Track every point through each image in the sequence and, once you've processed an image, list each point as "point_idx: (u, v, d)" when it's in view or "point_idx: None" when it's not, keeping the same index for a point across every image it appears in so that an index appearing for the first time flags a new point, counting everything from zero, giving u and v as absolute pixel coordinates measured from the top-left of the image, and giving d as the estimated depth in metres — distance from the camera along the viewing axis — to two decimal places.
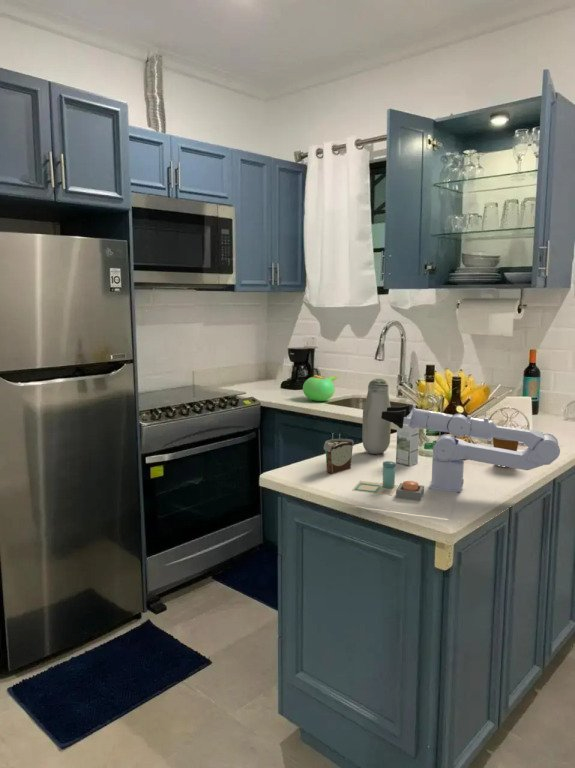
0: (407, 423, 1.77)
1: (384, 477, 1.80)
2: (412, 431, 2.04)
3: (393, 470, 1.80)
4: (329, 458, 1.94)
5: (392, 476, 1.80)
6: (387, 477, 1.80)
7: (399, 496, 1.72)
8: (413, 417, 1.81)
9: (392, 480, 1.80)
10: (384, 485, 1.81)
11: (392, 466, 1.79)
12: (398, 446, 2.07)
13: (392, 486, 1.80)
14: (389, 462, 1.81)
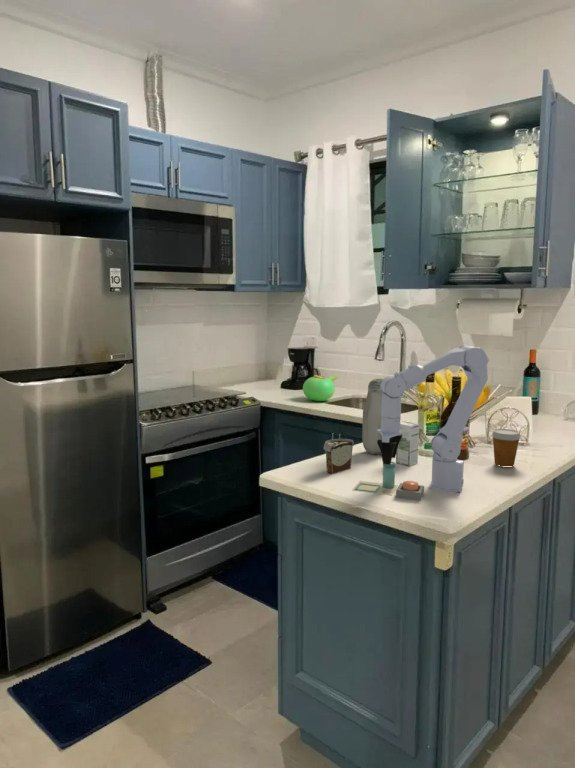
0: (387, 438, 1.73)
1: (384, 477, 1.80)
2: (412, 431, 2.04)
3: (393, 470, 1.80)
4: (329, 458, 1.94)
5: (392, 476, 1.80)
6: (387, 477, 1.80)
7: (399, 496, 1.72)
8: (386, 431, 1.77)
9: (392, 480, 1.80)
10: (384, 485, 1.81)
11: (392, 466, 1.79)
12: (398, 446, 2.07)
13: (392, 486, 1.80)
14: None
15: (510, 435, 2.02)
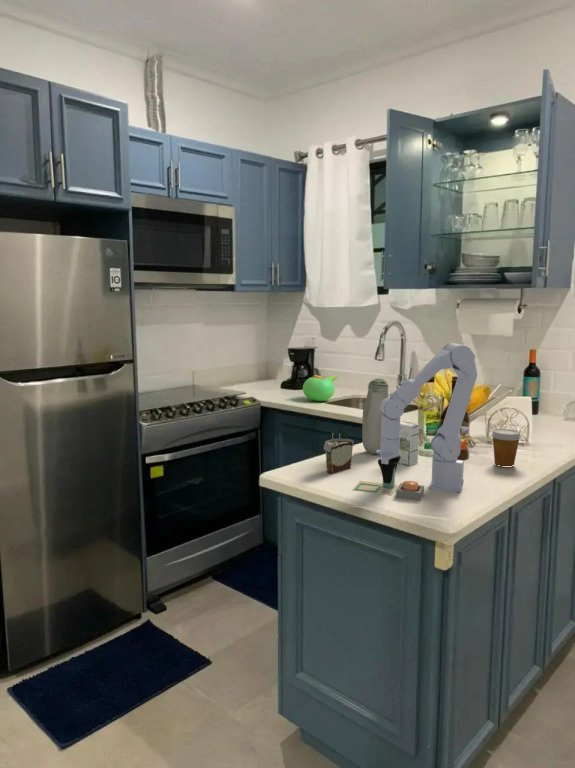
0: (386, 459, 1.73)
1: None
2: (412, 431, 2.04)
3: None
4: (329, 458, 1.94)
5: (392, 476, 1.80)
6: None
7: (399, 496, 1.72)
8: (385, 452, 1.78)
9: (392, 480, 1.80)
10: (384, 485, 1.81)
11: None
12: None
13: (392, 486, 1.80)
14: None
15: (510, 435, 2.02)
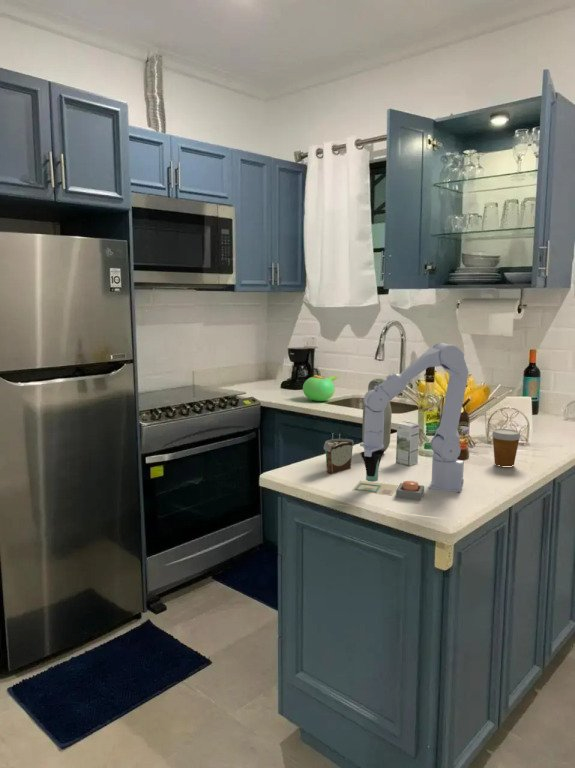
0: (369, 452, 1.72)
1: None
2: (412, 431, 2.04)
3: None
4: (329, 458, 1.94)
5: None
6: None
7: (399, 496, 1.72)
8: (369, 445, 1.77)
9: (375, 473, 1.79)
10: (367, 478, 1.80)
11: None
12: (398, 446, 2.07)
13: (375, 479, 1.79)
14: None
15: (510, 435, 2.02)
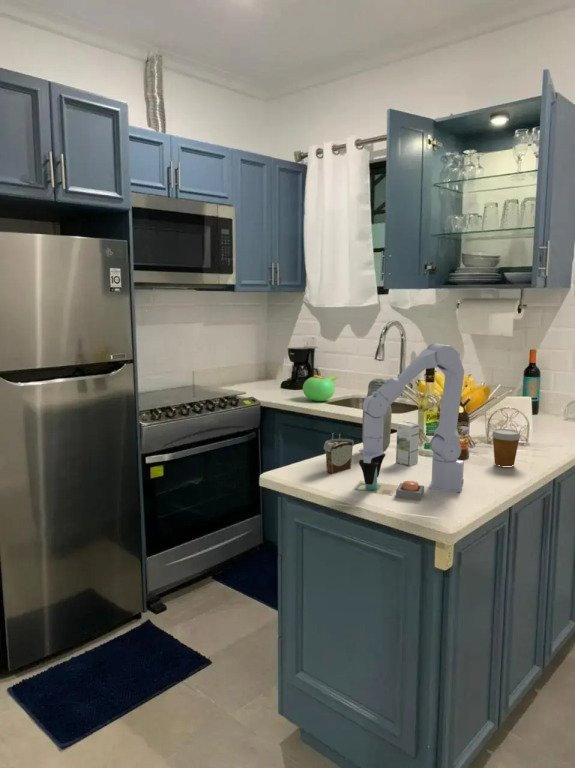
0: (368, 458, 1.71)
1: None
2: (412, 431, 2.04)
3: (375, 471, 1.78)
4: (329, 458, 1.94)
5: (374, 477, 1.78)
6: None
7: (399, 496, 1.72)
8: (368, 451, 1.75)
9: (374, 481, 1.78)
10: (367, 487, 1.78)
11: None
12: (398, 446, 2.07)
13: (375, 488, 1.78)
14: None
15: (510, 435, 2.02)
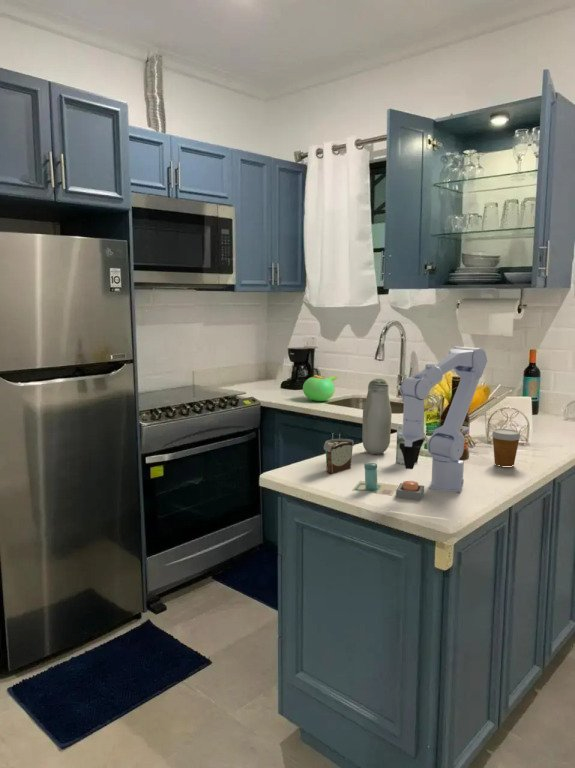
0: (410, 442, 1.65)
1: (366, 479, 1.78)
2: None
3: (375, 471, 1.78)
4: (329, 458, 1.94)
5: (374, 477, 1.78)
6: (369, 479, 1.78)
7: (399, 496, 1.72)
8: (408, 435, 1.69)
9: (374, 481, 1.78)
10: (367, 487, 1.78)
11: (373, 467, 1.77)
12: (398, 446, 2.07)
13: (375, 488, 1.78)
14: (370, 463, 1.79)
15: (510, 435, 2.02)
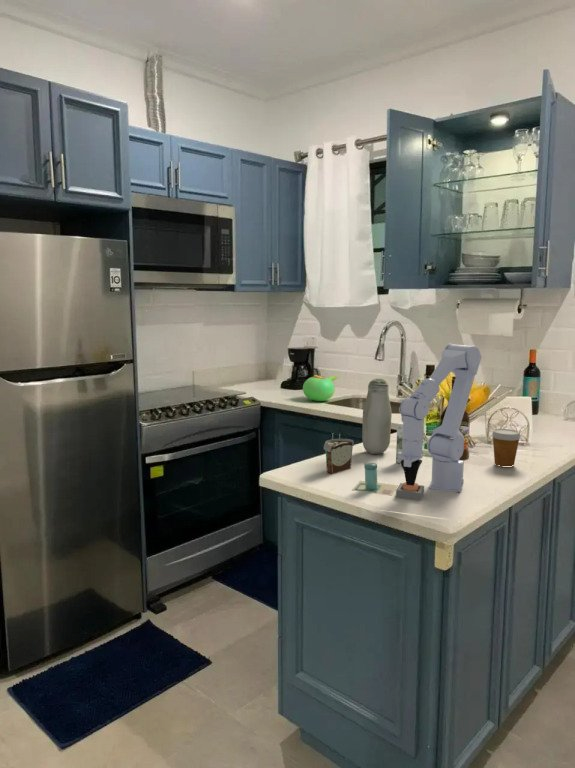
0: (409, 462, 1.66)
1: (366, 479, 1.78)
2: None
3: (375, 471, 1.78)
4: (329, 458, 1.94)
5: (374, 477, 1.78)
6: (369, 479, 1.78)
7: (399, 496, 1.72)
8: (408, 455, 1.70)
9: (374, 481, 1.78)
10: (367, 487, 1.78)
11: (373, 467, 1.77)
12: (398, 446, 2.07)
13: (375, 488, 1.78)
14: (370, 463, 1.79)
15: (510, 435, 2.02)
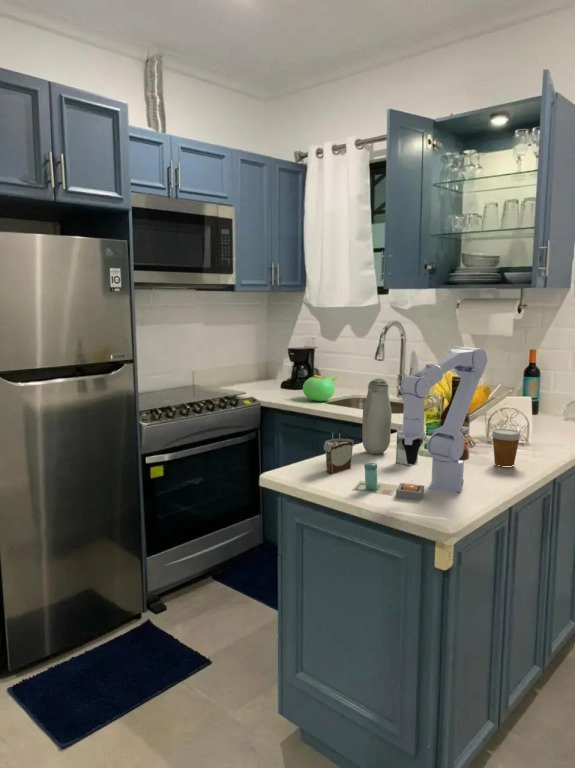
0: (410, 440, 1.65)
1: (366, 479, 1.78)
2: None
3: (375, 471, 1.78)
4: (329, 458, 1.94)
5: (374, 477, 1.78)
6: (369, 479, 1.78)
7: (399, 496, 1.72)
8: (409, 433, 1.69)
9: (374, 481, 1.78)
10: (367, 487, 1.78)
11: (373, 467, 1.77)
12: (398, 446, 2.07)
13: (375, 488, 1.78)
14: (370, 463, 1.79)
15: (510, 435, 2.02)
